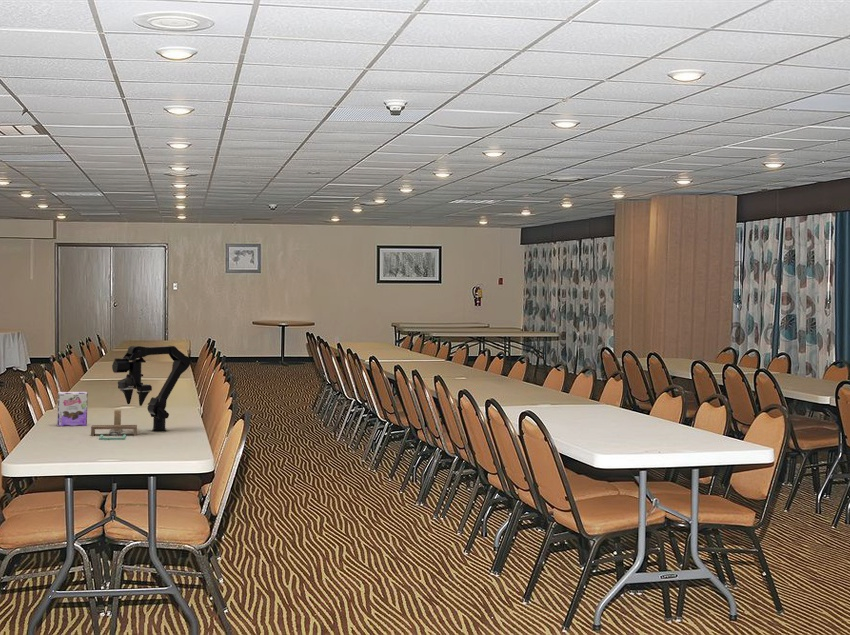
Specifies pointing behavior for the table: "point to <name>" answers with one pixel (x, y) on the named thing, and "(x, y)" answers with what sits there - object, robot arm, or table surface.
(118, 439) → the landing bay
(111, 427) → the walnut plinth
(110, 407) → the table surface
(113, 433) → the steel puck
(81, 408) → the candy box
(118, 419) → the try square
